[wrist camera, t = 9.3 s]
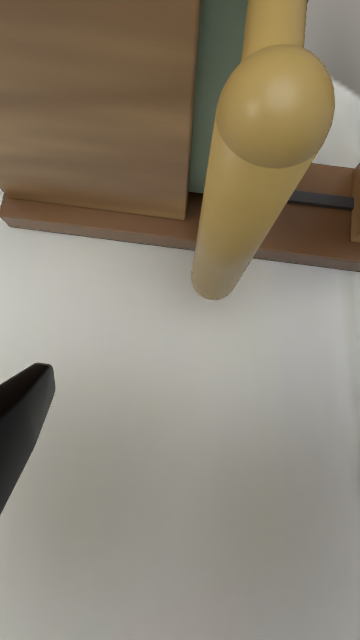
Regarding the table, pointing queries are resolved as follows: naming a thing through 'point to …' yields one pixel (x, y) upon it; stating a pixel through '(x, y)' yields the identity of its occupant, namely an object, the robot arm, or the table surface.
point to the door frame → (132, 133)
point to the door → (251, 129)
